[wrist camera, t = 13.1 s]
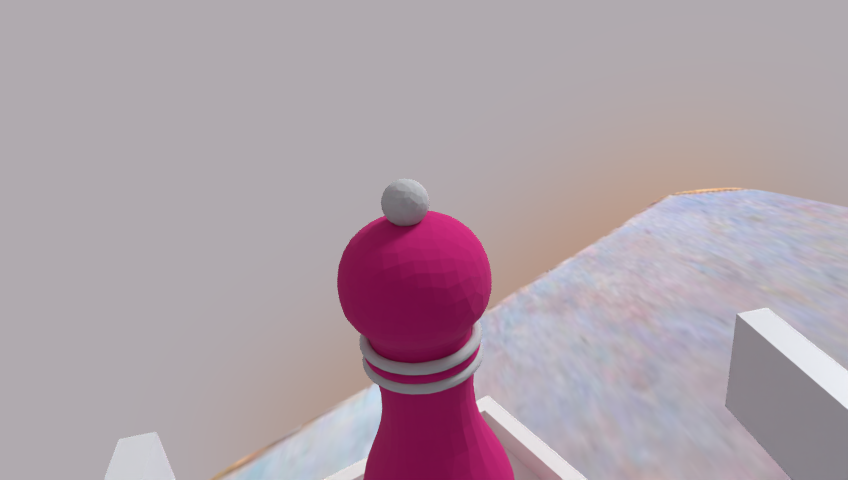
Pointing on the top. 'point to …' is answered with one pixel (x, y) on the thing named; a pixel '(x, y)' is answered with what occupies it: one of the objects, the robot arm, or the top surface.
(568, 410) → the top surface
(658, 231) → the top surface
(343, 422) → the top surface
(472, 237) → the pepper mill
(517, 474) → the tray
